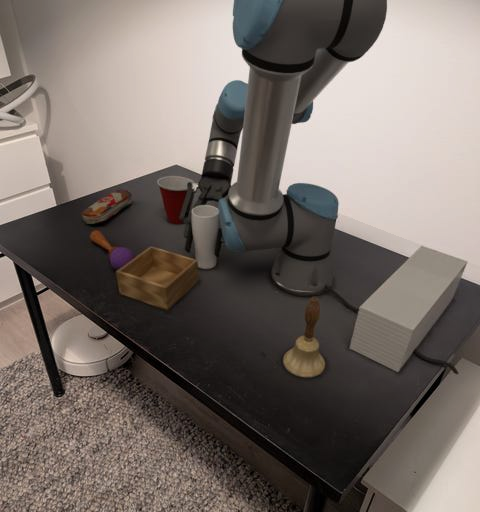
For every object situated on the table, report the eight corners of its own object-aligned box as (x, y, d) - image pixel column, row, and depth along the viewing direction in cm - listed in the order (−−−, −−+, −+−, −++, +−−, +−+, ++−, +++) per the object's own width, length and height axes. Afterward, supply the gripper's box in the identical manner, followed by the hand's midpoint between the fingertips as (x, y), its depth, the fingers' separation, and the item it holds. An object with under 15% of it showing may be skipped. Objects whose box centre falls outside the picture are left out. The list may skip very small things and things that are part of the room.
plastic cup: (203, 222, 135) (202, 183, 128) (170, 231, 130) (167, 191, 123) (185, 209, 142) (183, 171, 135) (153, 216, 137) (150, 178, 130)
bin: (198, 281, 111) (197, 260, 107) (167, 310, 101) (165, 288, 98) (152, 267, 115) (150, 245, 112) (119, 293, 106) (115, 271, 102)
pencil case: (71, 219, 134) (68, 203, 131) (121, 198, 147) (119, 183, 144) (97, 230, 129) (94, 214, 126) (146, 207, 142) (144, 192, 139)
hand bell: (329, 377, 87) (344, 311, 77) (286, 378, 86) (296, 312, 76) (320, 348, 93) (332, 283, 83) (280, 349, 93) (288, 284, 83)
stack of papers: (398, 372, 89) (413, 330, 82) (349, 348, 94) (359, 306, 87) (452, 300, 109) (467, 261, 102) (409, 283, 114) (421, 245, 107)
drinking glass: (192, 258, 119) (190, 204, 110) (218, 257, 120) (218, 204, 111) (193, 272, 114) (191, 217, 105) (220, 271, 115) (220, 216, 105)
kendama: (106, 224, 124) (139, 251, 110) (106, 245, 126) (138, 273, 113) (85, 226, 120) (115, 253, 107) (85, 247, 123) (115, 276, 110)
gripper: (259, 175, 115) (243, 262, 113) (185, 167, 118) (167, 251, 116) (256, 161, 108) (239, 254, 106) (177, 153, 111) (159, 243, 109)
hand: (201, 253), depth 111 cm, fingers closed on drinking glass, 7 cm apart
